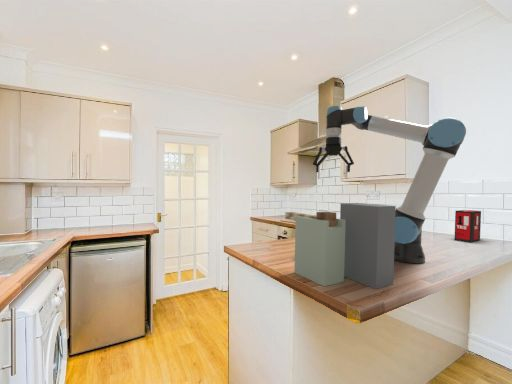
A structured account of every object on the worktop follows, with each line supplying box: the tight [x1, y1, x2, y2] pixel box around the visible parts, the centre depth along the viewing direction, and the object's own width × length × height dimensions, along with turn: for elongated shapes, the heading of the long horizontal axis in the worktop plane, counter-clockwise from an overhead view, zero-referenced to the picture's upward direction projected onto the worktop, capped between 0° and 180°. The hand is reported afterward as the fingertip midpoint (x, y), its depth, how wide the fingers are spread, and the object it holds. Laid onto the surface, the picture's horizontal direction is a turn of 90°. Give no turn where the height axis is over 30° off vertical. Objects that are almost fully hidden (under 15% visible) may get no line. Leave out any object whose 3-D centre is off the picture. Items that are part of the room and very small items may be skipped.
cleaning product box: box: [453, 209, 482, 244], centre depth 173 cm, size 16×9×20 cm, turn 124°
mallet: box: [284, 211, 337, 227], centre depth 103 cm, size 25×5×5 cm, turn 31°
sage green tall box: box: [293, 214, 346, 287], centre depth 97 cm, size 16×10×22 cm, turn 31°
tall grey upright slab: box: [339, 202, 397, 290], centre depth 96 cm, size 16×10×28 cm, turn 31°
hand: (332, 178), depth 132 cm, fingers open, 13 cm apart
